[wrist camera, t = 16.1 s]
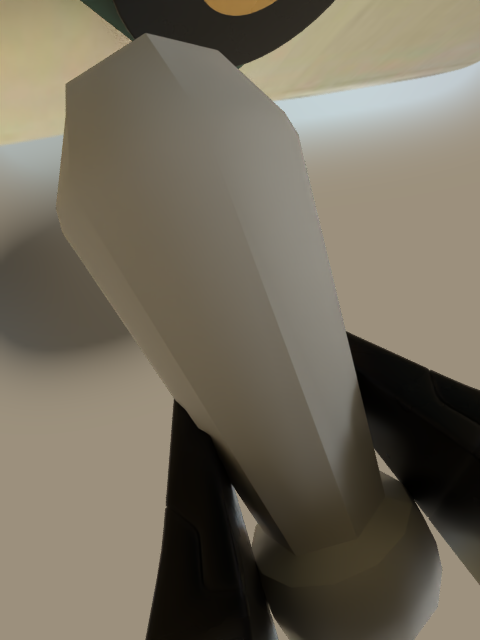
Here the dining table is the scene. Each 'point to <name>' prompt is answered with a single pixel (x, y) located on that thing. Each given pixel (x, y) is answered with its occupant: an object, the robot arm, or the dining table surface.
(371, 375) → the robot arm
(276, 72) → the dining table surface
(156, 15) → the burner
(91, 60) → the dining table surface
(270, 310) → the salt shaker
